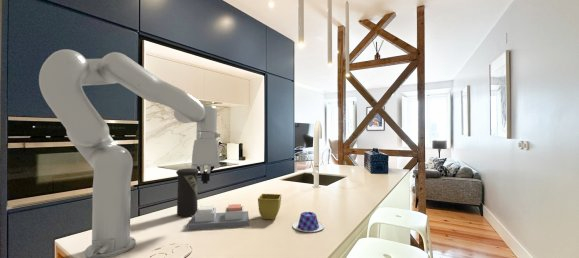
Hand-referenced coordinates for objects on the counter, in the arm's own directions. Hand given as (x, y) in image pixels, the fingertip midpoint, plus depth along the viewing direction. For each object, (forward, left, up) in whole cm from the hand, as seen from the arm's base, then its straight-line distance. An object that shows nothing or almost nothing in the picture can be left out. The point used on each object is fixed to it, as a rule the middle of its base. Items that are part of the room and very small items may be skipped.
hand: (205, 183), depth 98 cm
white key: (0, 0, -13) cm, 13 cm away
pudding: (-11, -39, -16) cm, 44 cm away
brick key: (0, -11, -13) cm, 17 cm away
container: (+13, +9, -16) cm, 23 cm away
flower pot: (+2, -26, -16) cm, 31 cm away
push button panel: (0, -6, -16) cm, 17 cm away
